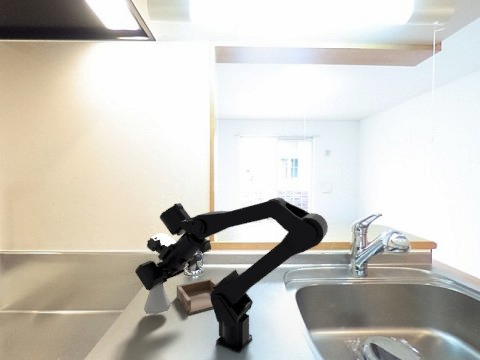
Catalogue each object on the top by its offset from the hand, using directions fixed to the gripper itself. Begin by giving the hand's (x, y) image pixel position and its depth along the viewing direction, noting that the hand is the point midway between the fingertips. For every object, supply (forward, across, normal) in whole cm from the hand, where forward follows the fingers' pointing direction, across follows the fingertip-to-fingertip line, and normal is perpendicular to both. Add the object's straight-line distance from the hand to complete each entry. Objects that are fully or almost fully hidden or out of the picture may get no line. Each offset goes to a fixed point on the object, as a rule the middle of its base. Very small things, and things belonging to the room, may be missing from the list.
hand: (153, 283), depth 72 cm
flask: (+4, 0, +6) cm, 7 cm away
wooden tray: (+1, -12, +12) cm, 17 cm away
